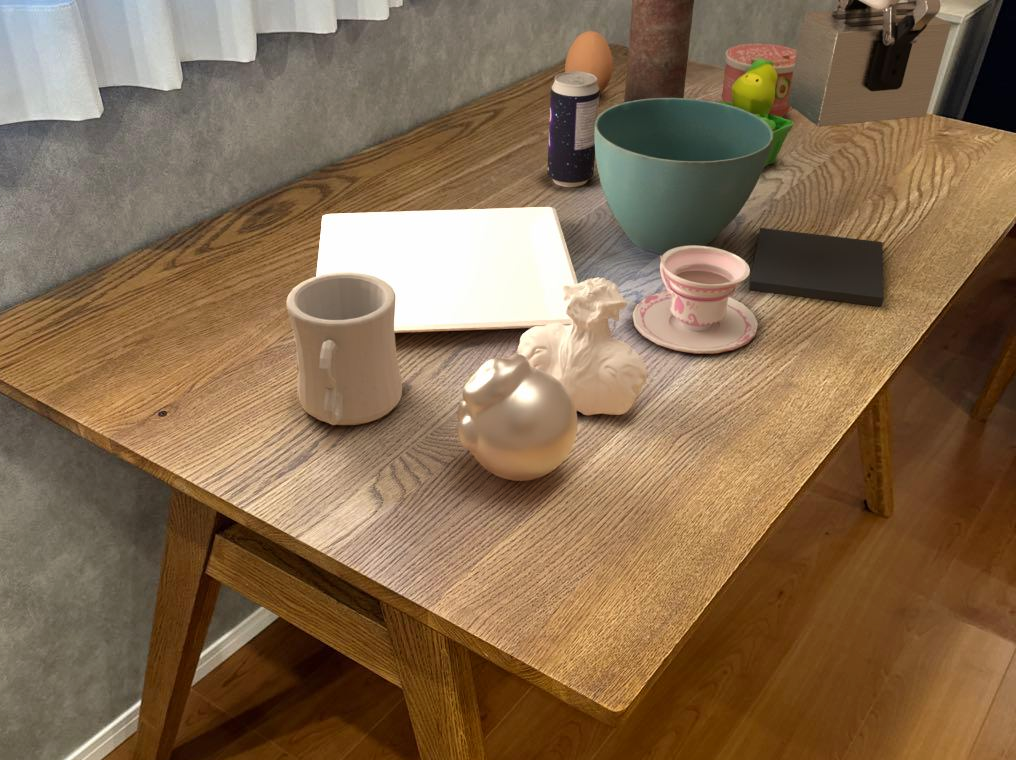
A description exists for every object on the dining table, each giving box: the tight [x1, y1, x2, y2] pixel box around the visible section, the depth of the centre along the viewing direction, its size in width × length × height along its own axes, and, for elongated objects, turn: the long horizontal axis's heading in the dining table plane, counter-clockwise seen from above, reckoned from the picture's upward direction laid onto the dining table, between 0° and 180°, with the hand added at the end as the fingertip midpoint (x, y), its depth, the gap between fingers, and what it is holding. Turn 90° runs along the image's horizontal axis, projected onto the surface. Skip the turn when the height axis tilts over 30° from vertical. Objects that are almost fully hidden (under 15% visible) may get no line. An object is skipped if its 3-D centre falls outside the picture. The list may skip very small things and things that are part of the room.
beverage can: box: [546, 71, 601, 188], centre depth 121 cm, size 6×6×12 cm
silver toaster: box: [787, 7, 952, 127], centre depth 94 cm, size 6×12×8 cm, turn 103°
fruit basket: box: [718, 59, 794, 168], centre depth 127 cm, size 11×9×11 cm
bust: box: [517, 276, 649, 416], centre depth 87 cm, size 12×8×11 cm
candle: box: [623, 0, 695, 103], centre depth 124 cm, size 8×7×20 cm
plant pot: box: [594, 97, 773, 255], centre depth 109 cm, size 18×18×12 cm
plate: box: [315, 206, 579, 334], centre depth 105 cm, size 26×26×2 cm
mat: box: [748, 227, 884, 307], centre depth 107 cm, size 13×13×1 cm
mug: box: [285, 272, 403, 426], centre depth 85 cm, size 12×9×10 cm
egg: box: [564, 30, 614, 95], centre depth 145 cm, size 7×7×9 cm
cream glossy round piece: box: [457, 353, 578, 482], centre depth 79 cm, size 9×10×10 cm
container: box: [721, 43, 797, 118], centre depth 139 cm, size 10×10×8 cm
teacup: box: [631, 245, 759, 354], centre depth 97 cm, size 12×12×6 cm
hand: (863, 74), depth 94 cm, fingers closed on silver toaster, 6 cm apart
